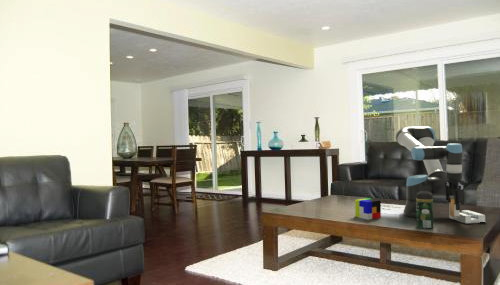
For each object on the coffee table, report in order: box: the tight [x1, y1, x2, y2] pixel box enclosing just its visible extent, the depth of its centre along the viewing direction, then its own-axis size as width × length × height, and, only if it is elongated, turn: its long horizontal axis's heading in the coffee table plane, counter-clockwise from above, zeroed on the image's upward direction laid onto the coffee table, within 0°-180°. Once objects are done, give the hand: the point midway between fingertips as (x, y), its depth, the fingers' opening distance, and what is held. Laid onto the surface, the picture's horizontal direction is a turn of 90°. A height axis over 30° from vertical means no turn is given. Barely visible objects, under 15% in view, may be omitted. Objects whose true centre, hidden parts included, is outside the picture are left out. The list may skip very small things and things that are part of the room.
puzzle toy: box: [354, 197, 382, 221], centre depth 229 cm, size 10×10×10 cm
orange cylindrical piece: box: [450, 195, 458, 217], centre depth 213 cm, size 4×4×11 cm
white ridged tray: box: [448, 209, 486, 224], centre depth 215 cm, size 11×14×4 cm
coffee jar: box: [416, 191, 434, 230], centre depth 202 cm, size 10×8×19 cm
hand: (454, 215), depth 213 cm, fingers closed on orange cylindrical piece, 3 cm apart
